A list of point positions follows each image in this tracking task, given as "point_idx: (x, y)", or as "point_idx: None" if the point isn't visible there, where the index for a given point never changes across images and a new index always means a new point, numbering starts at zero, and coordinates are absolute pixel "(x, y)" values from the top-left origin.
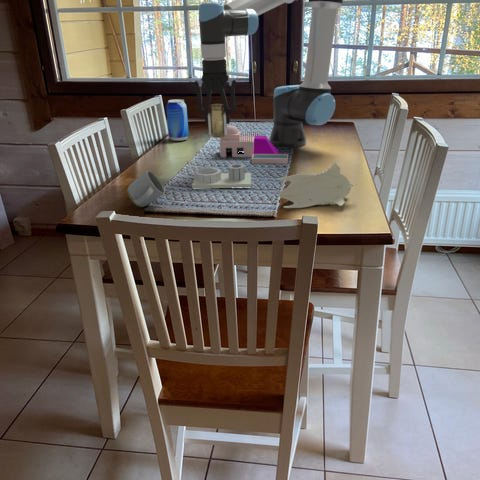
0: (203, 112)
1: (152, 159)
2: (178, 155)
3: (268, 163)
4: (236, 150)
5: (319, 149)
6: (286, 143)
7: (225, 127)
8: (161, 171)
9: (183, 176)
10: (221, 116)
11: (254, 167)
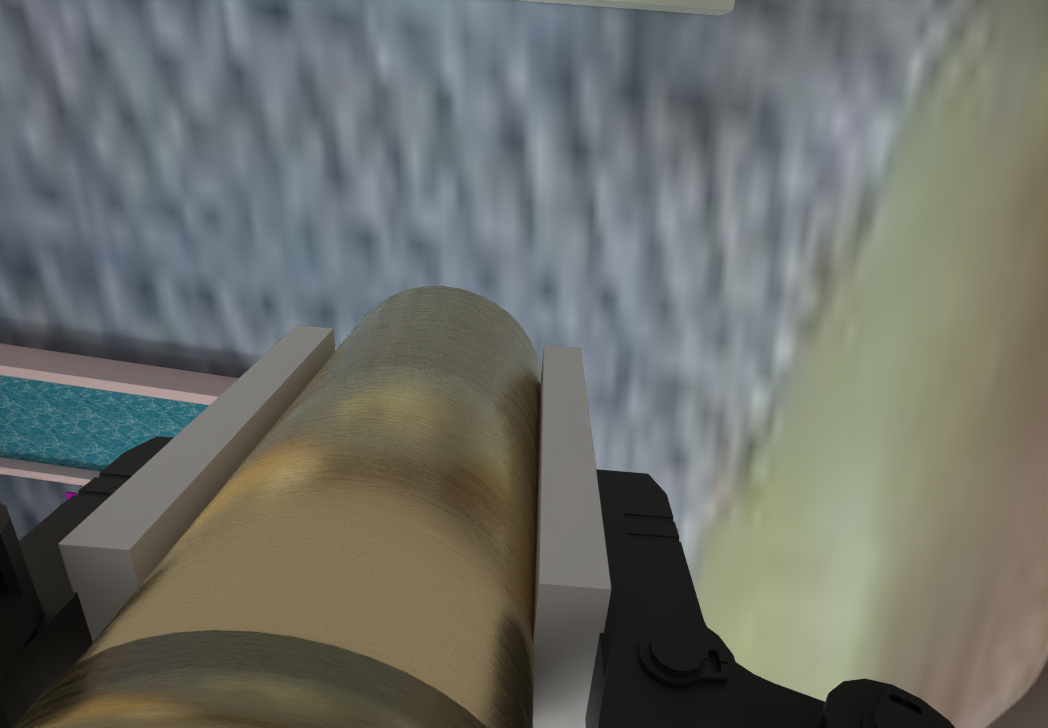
0: (758, 713)
1: (1004, 575)
2: (794, 628)
3: (111, 360)
4: None
5: None
6: None
7: (259, 376)
8: (1006, 272)
9: (834, 91)
10: (211, 506)
11: (206, 274)
